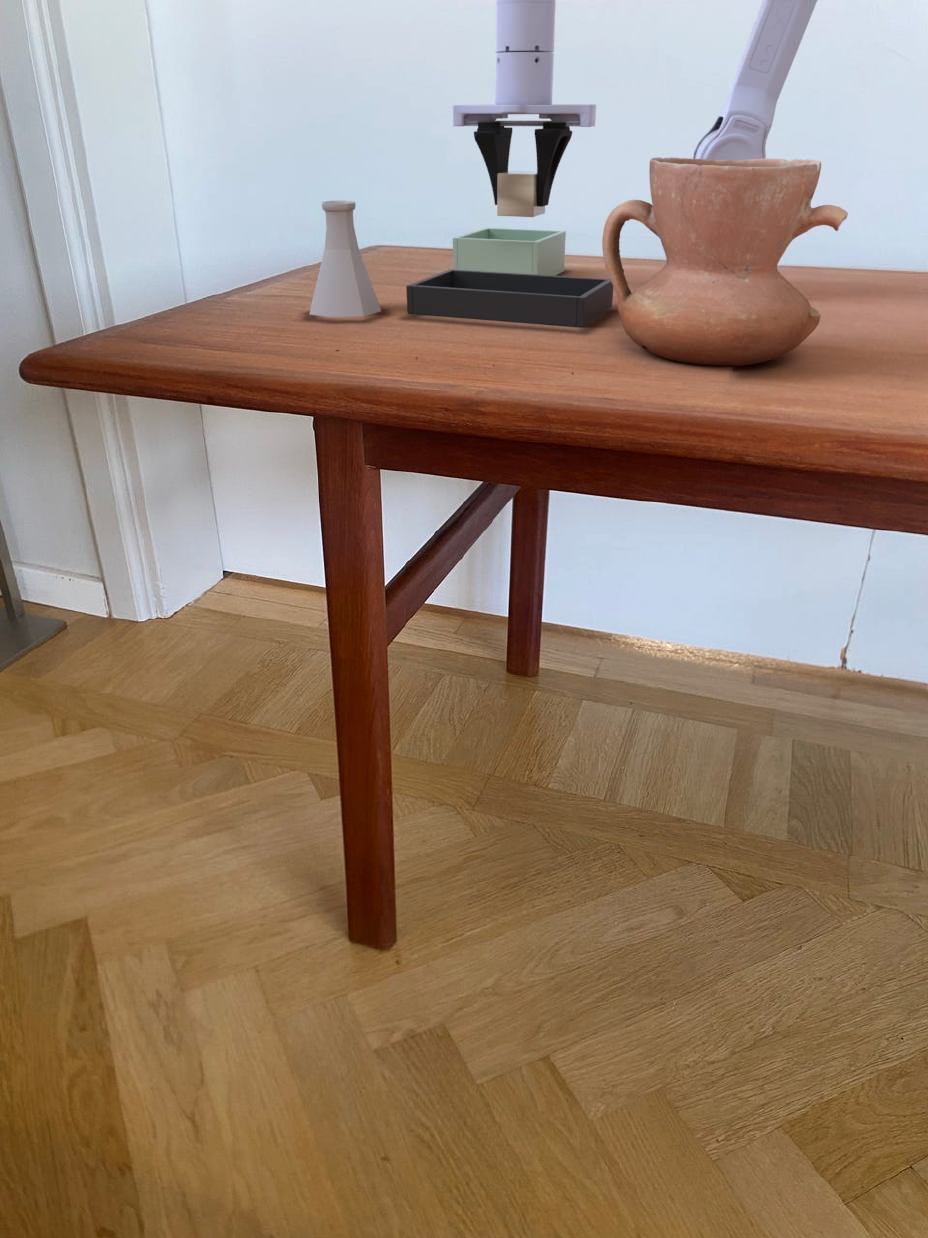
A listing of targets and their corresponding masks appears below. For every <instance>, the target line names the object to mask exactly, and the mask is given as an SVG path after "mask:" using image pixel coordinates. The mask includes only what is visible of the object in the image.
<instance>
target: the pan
mask: <svg viewBox="0 0 928 1238" xmlns="http://www.w3.org/2000/svg"><path fill="white" fill-rule="evenodd" d="M405 287H406V313H407V315H415V316H427V317H443V318H453V319H454V318H455V319H464V320H465V319H466V320H478V321H492V322H501V323H503V322H504V323H516V324H528V325H539V326H540V325H541V326H552V327H553V326H556V327H566V328H577V329H578V328H580V329H583V328H585V327H586V326H588V325H589V324H590V323H592V322H593V321H595V320H596V319H598V317H600V316H602V315H603V314H605V312H607V311H609V310H610V309H611V308H612V307H613V298H614V287H613V284H612V282H611V280H610V278H597V277H582V276H581V277H580V276H567V275H566V276H565V275H564V276H563V275H556V276H550V275H534V274H517V273H501V272H484V271H468V270H453V269H452V268H451V269H448V270H444V271H442V272H439V273H436V274H434V275H431V276H428V277H426V278H423V279H421V280H419V281H415V282H412V283H410V284H407V285H406V286H405Z"/></svg>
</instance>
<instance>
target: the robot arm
mask: <svg viewBox="0 0 928 1238" xmlns="http://www.w3.org/2000/svg"><path fill="white" fill-rule="evenodd" d="M556 1H557V0H495V45H494V46H495V49H494V51H495V57H494V58H495V61H494V64H495V65H494V66H495V68H494V69H495V70H494V72H495V73H494V74H495V75H494V104H453V105H452V123H453V125H452V126H453V127H477V128H476V130H475V131H473V138H474V141H475V143H476V145H477V147H478V149H479V151H480V153H481V156H482V159H483V161H484V163H485V166H486V170H487V173H488V177H489V181H490V184H491V190H492V194H493V200H494V205H495V206H497V181H498V173H503V172H508V171H509V161H510V153H511V152H510V151H511V143H512V136H513V127H542V128H535V129H534V139H535V152H536V171H537V183H536V202H537V206H539V207H543V206H545V207H546V206H549V202H550V196H551V195H550V194H551V191H552V187H553V183H554V180H555V177H556V174H557V170H558V168H559V165H560V162H561V160H562V158H563V156H564V154H565V151H566V149H567V147H568V145H569V143H570V141H571V140H572V139H571V138H572V135H573V130H571V128H570V127H580V128H592V127H596V117H597V104H553V92H554V91H553V90H554V89H553V86H554V63H555V62H554V61H555V58H554V57H555V53H554V52H555V35H556V34H555V32H556V31H555V30H556V7H557V5H556V4H557V2H556ZM817 2H818V0H762V1H761V3H760V6H759V9H758V12H757V15H756V18H755V20H754V23H753V25H752V28H751V31H750V34H749V37H748V39H747V40H746V41H747V42H746V44H745V46H744V50H743V53H742V55H741V57H740V61H739V63H738V66H737V68H736V71H735V73H734V77H733V79H732V82H731V84H730V87H729V88H728V89H729V90H728V91H727V93H726V96H725V98H724V100H723V102H722V104H721V106H720V108H719V110H718V113H717V116H716V118H715V120H714V122H713V125H712V126H711V127H710V129H709V130H708V131H707V132H706V133H705V134H704V135H703V136H702V137H701V138H700V140H699V141H698V142H697V145H696V146H695V148H694V151H693V155H692V159H713V160H729V159H731V160H736V161H738V160H747V159H767V154H766V153H767V152H766V145H767V140H768V136H769V134H770V131H771V130H772V129H771V128H772V126H773V122H774V118H775V113H776V108H777V103H778V100H779V98H780V95H781V93H782V90H783V88H784V85H785V83H786V80H787V78H788V76H789V73H790V70H791V67H792V65H793V62H794V60H795V57H796V55H797V52H798V50H799V48H800V45H801V42H802V40H803V37H804V35H805V32H806V30H807V27H808V26H809V22H810V20H811V17H812V15H813V13H814V10H815V7H816V5H817ZM509 115H538V119H540V120H502V119H508V118H509ZM500 119H501V120H500ZM542 119H543V120H542ZM548 119H549V120H548Z"/></svg>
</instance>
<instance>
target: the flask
mask: <svg viewBox="0 0 928 1238" xmlns="http://www.w3.org/2000/svg"><path fill="white" fill-rule="evenodd" d="M356 205H357V204H356V201H354V200H326V201H322V202H321V208H322V211H324V214H325V226H326V227H325V228H326V230H325V240H324V249H323V254H322V258H321V264H320V267H319V271H318V277H317V281H316V283H315V284H316V285H315V288H314V292H313V295H312V296H313V297H312V300H311V305H310V309H309V316H318V317H327V318H361V317H363V318H364V317H367V316H371V315H373V314H376V313H380V312H382V308H381V305H380V302H379V299H378V296H377V294H376V292H375V291H376V290H375V289H374V286H373V283H372V281H371V279H370V276H369V273H368V271H367V267H366V265H365V262H364V258H363V256H362V253H361V250H360V248H359V244H358V239H357V234H356V229H355V223H354V210H356Z"/></svg>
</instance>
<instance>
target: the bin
mask: <svg viewBox="0 0 928 1238" xmlns="http://www.w3.org/2000/svg"><path fill="white" fill-rule="evenodd" d="M566 234H567V231H566V230H549V229H525V228H524V229H523V228H522V229H521V228H504V227H503V228H501V227H499V228H498V227H484V228H481V229H478V230H474V231H470V232H468V233H467V232H466V233H464V234H462V235H458V236H455V237H452V270H468V271H484V272H501V273H517V274H534V275H550V276H559V274H561V273H564V272H565V261H566V260H565V255H566V236H567V235H566Z"/></svg>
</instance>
